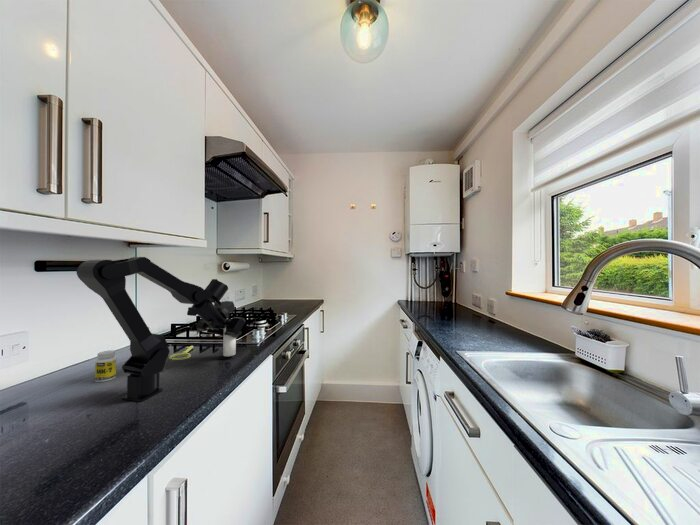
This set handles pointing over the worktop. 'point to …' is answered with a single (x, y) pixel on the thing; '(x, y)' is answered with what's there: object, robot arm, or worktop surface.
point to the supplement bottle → (105, 366)
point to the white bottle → (228, 345)
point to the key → (182, 354)
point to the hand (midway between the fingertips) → (232, 336)
